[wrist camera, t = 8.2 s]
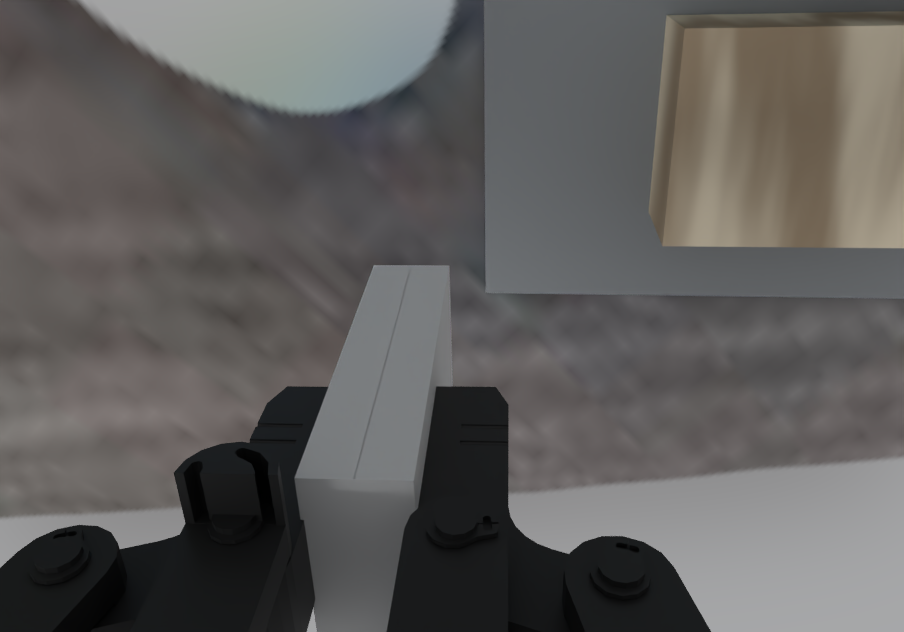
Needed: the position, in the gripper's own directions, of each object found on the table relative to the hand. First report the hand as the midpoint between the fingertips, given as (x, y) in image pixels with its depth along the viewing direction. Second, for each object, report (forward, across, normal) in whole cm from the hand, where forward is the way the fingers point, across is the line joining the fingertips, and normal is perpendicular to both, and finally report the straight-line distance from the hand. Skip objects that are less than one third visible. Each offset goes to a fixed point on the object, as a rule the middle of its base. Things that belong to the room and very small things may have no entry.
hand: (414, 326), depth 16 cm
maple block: (+17, +8, 0) cm, 19 cm away
